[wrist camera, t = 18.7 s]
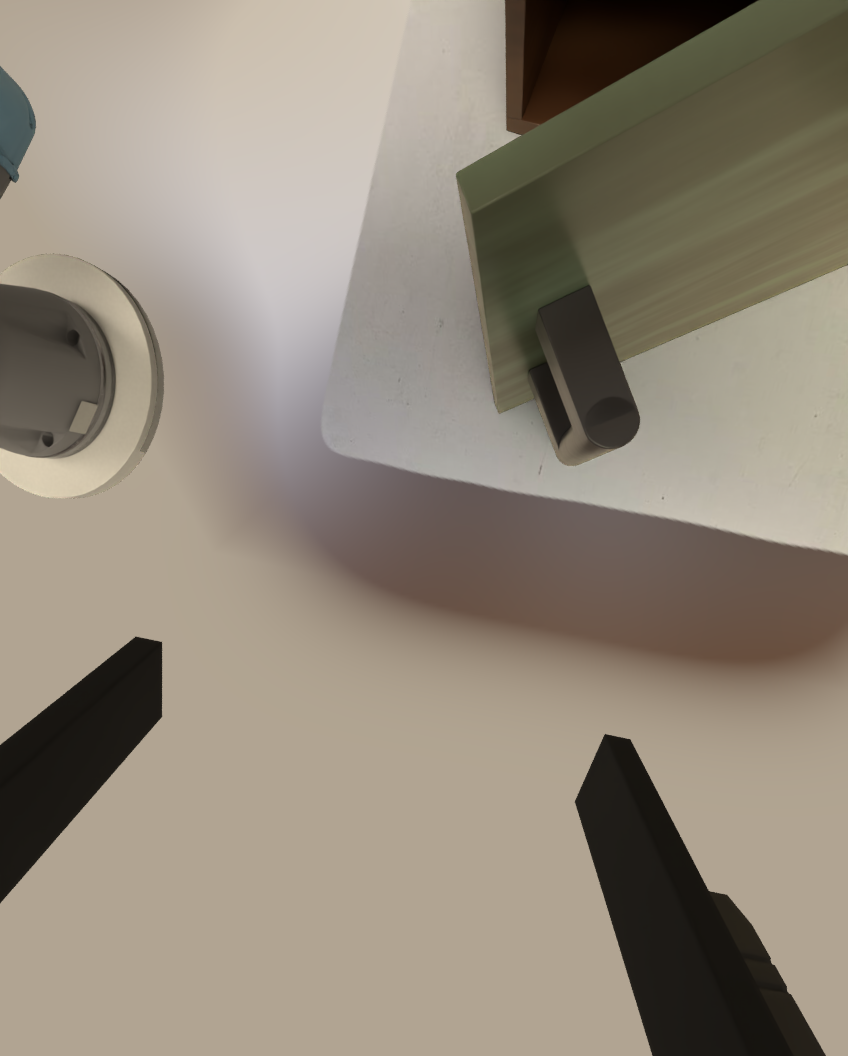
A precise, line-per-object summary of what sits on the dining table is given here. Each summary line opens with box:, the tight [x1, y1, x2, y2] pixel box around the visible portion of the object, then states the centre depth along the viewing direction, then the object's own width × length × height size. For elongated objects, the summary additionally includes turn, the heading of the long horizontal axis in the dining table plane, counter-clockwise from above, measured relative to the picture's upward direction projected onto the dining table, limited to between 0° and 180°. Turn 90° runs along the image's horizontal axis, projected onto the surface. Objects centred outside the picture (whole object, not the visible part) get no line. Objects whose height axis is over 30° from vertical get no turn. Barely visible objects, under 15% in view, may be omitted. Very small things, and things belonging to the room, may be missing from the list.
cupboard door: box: [456, 0, 848, 466], centre depth 18 cm, size 7×26×24 cm, turn 111°
